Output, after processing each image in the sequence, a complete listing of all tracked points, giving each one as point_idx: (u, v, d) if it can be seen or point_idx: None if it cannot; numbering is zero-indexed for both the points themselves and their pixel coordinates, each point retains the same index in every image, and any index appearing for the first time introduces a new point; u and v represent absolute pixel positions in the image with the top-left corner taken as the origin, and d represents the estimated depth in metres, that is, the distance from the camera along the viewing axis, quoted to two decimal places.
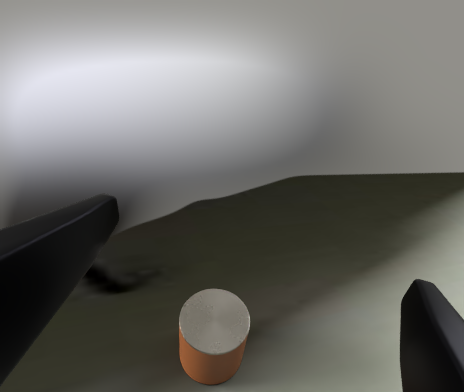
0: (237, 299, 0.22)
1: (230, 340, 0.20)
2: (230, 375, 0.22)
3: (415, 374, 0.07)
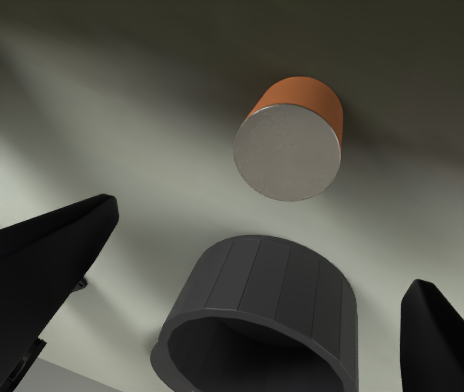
0: (336, 158, 0.13)
1: (279, 190, 0.15)
2: None
3: (415, 374, 0.07)
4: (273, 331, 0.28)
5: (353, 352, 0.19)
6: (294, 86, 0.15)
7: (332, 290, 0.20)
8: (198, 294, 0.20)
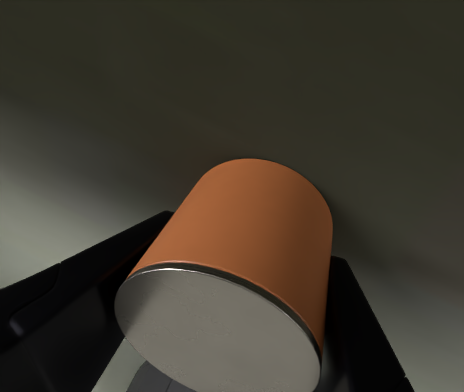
0: (312, 370, 0.06)
1: (210, 387, 0.08)
2: None
3: None
4: None
5: None
6: (236, 192, 0.08)
7: None
8: None
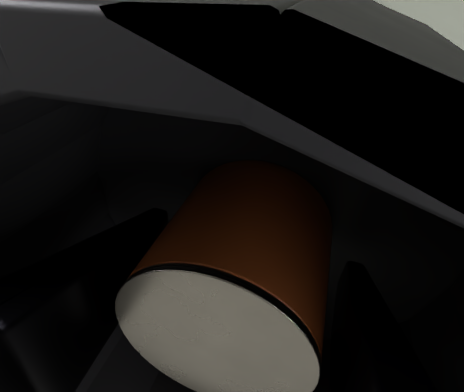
0: (311, 371, 0.06)
1: (209, 387, 0.08)
2: None
3: (338, 349, 0.08)
4: None
5: None
6: (237, 193, 0.08)
7: None
8: None
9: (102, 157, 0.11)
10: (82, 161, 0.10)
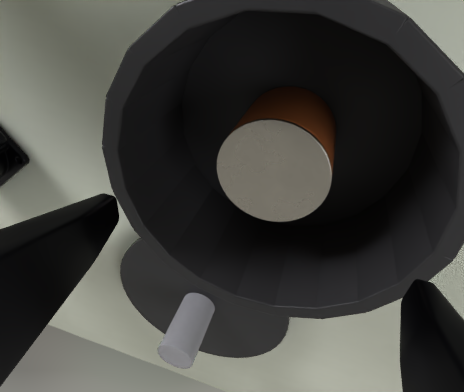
0: (327, 177, 0.12)
1: (266, 210, 0.14)
2: None
3: (415, 374, 0.07)
4: None
5: None
6: (282, 98, 0.14)
7: None
8: None
9: (186, 92, 0.17)
10: (178, 91, 0.16)
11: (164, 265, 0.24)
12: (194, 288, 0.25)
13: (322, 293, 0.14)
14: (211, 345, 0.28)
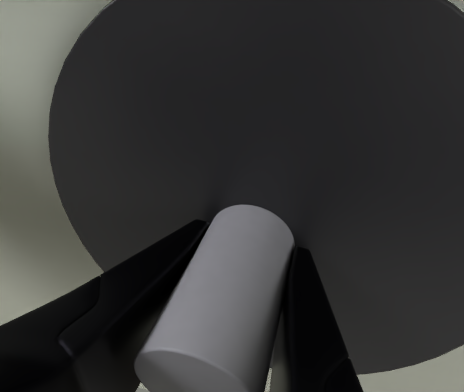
0: None
1: None
2: None
3: (278, 329, 0.08)
4: None
5: None
6: None
7: None
8: None
9: None
10: None
11: (140, 136, 0.09)
12: (232, 192, 0.09)
13: None
14: None
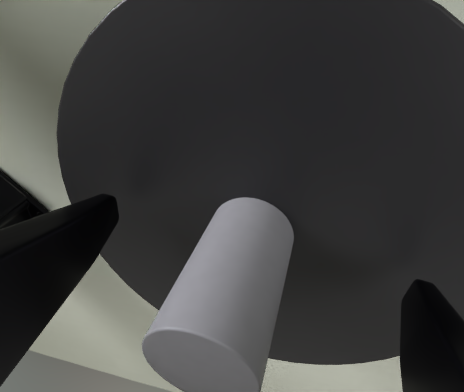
0: None
1: None
2: None
3: (415, 374, 0.07)
4: None
5: None
6: None
7: None
8: None
9: None
10: None
11: (145, 132, 0.09)
12: (233, 185, 0.09)
13: None
14: (294, 342, 0.13)
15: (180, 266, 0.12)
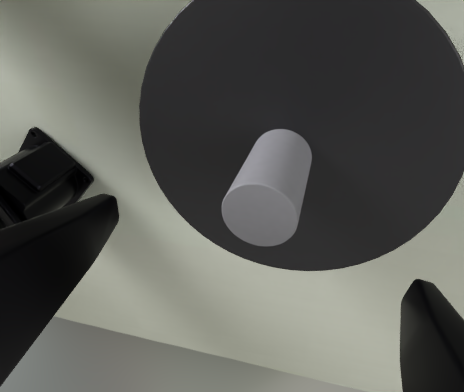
0: None
1: None
2: None
3: (415, 374, 0.07)
4: None
5: None
6: None
7: None
8: None
9: None
10: None
11: (209, 83, 0.13)
12: (270, 120, 0.13)
13: None
14: (309, 251, 0.17)
15: (224, 192, 0.16)
